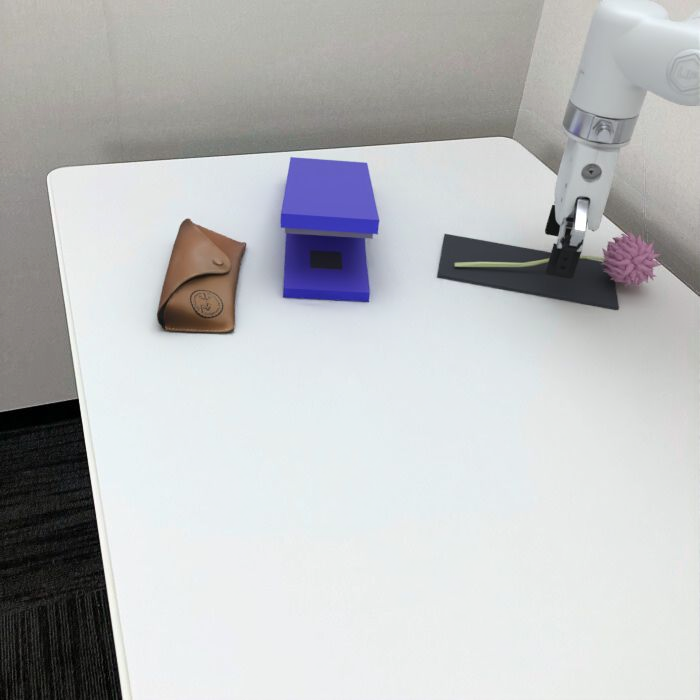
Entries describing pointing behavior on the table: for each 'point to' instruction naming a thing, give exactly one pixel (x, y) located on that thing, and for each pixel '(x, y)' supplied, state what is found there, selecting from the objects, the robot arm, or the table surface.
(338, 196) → the stapler
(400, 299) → the table surface
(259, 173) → the table surface
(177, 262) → the sunglasses case
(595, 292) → the runner
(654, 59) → the robot arm
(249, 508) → the table surface
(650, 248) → the artificial flower
